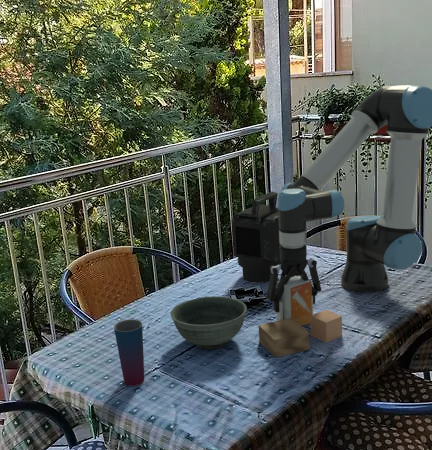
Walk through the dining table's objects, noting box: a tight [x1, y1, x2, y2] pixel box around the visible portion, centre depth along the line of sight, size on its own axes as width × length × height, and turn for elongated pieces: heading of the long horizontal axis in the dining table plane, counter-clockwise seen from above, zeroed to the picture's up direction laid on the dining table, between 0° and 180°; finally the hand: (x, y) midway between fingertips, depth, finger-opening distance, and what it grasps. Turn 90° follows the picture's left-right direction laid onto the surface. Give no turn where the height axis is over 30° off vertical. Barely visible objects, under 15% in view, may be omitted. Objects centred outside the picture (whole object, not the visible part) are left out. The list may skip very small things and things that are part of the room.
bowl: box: [170, 295, 248, 350], centre depth 162 cm, size 21×21×10 cm
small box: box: [277, 276, 313, 327], centre depth 169 cm, size 8×6×13 cm
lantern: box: [230, 191, 281, 284], centre depth 204 cm, size 15×18×30 cm
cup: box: [113, 318, 145, 387], centre depth 144 cm, size 7×7×15 cm
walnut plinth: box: [258, 318, 310, 359], centre depth 158 cm, size 10×10×5 cm
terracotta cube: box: [310, 309, 343, 343], centre depth 162 cm, size 6×6×6 cm
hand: (294, 318), depth 171 cm, fingers closed on small box, 9 cm apart
